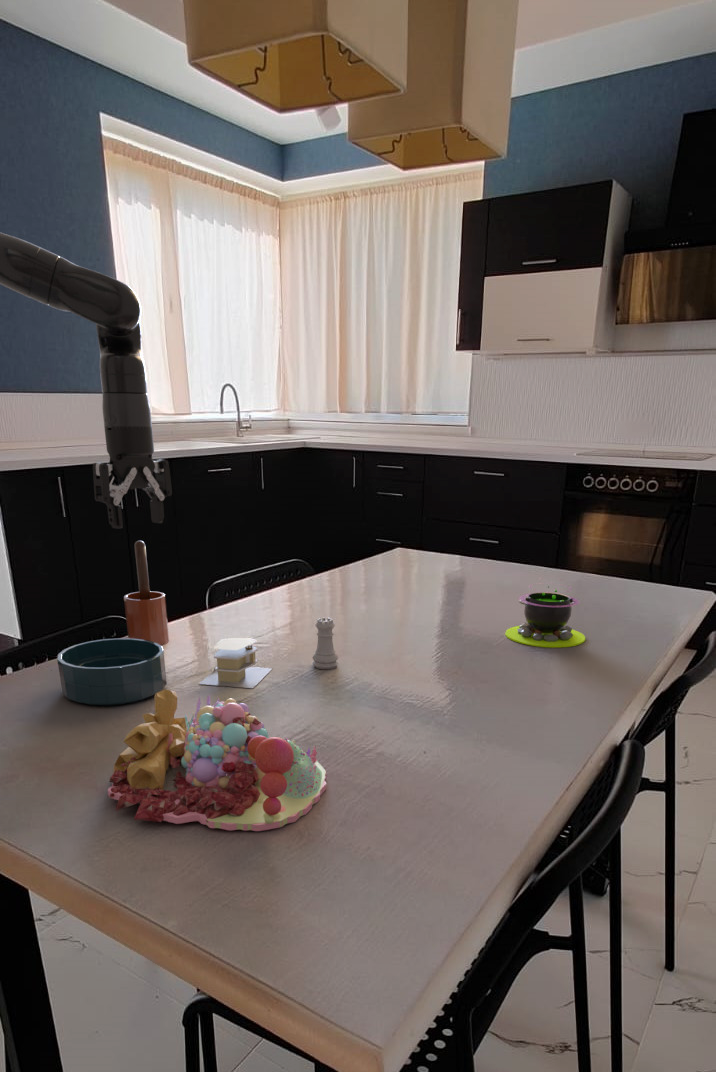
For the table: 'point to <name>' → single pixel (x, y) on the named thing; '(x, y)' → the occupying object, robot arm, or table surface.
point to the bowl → (112, 671)
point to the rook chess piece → (325, 645)
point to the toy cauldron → (546, 621)
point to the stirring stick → (142, 570)
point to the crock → (147, 617)
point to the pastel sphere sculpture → (214, 769)
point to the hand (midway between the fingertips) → (137, 525)
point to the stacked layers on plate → (236, 664)
